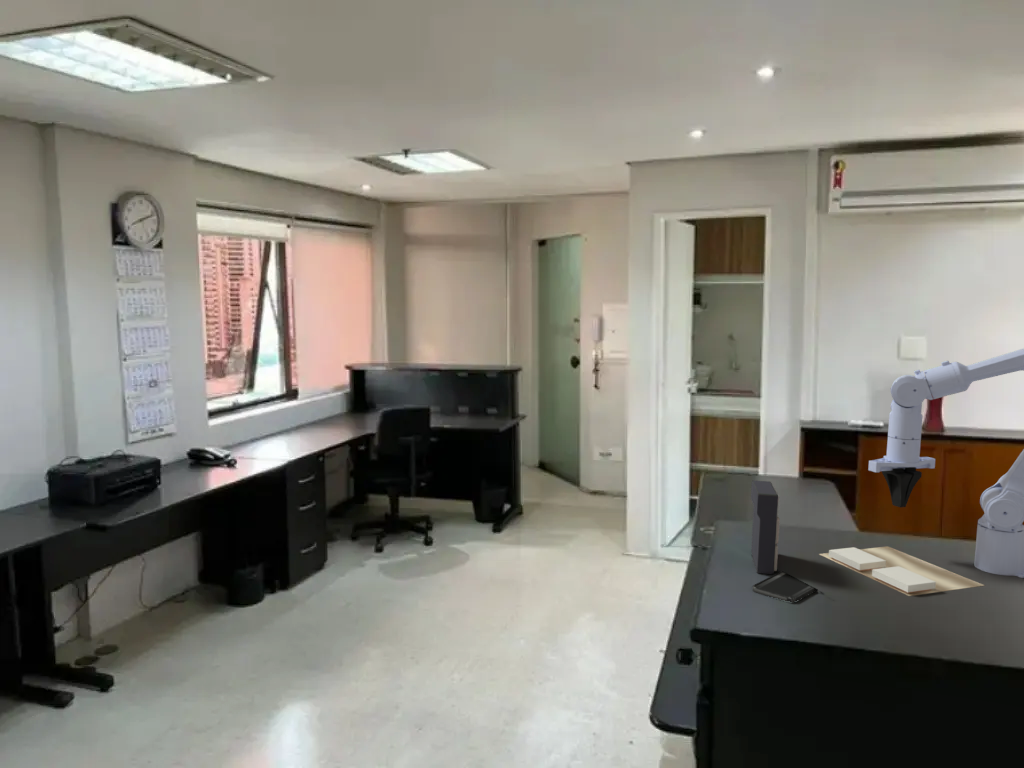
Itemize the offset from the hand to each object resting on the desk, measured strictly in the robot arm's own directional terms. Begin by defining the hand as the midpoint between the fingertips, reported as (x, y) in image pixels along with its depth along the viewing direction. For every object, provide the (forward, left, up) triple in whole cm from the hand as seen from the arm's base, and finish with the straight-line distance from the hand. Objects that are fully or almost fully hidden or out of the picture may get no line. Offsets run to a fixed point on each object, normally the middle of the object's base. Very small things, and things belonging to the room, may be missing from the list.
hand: (899, 505), depth 151 cm
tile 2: (+9, +14, -9) cm, 18 cm away
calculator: (+28, -4, -11) cm, 30 cm away
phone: (+30, +7, -11) cm, 33 cm away
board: (+7, +7, -10) cm, 14 cm away
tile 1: (+9, +3, -9) cm, 13 cm away
